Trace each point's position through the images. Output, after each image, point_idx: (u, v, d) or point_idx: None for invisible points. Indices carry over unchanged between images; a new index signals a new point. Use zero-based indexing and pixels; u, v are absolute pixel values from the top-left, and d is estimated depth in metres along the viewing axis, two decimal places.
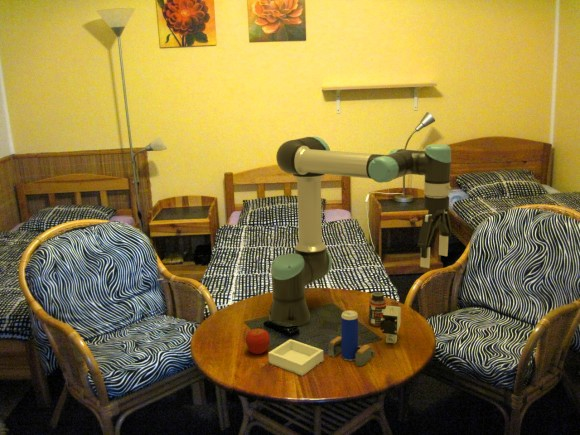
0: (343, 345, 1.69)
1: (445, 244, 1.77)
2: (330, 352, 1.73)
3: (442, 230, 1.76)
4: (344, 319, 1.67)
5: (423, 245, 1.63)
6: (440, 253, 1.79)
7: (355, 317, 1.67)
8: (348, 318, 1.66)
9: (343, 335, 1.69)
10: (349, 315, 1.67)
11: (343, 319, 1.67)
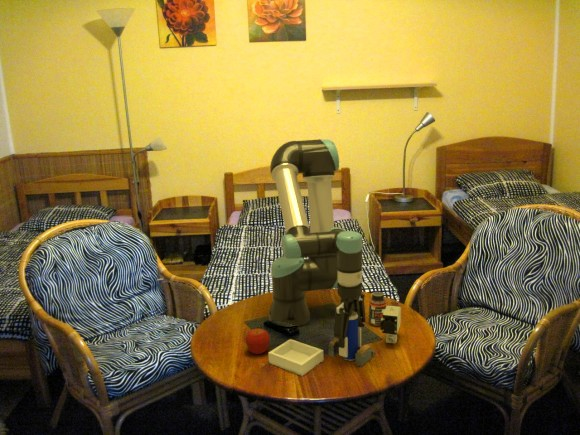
0: None
1: (358, 335, 1.73)
2: (330, 352, 1.73)
3: None
4: None
5: (339, 337, 1.64)
6: None
7: (355, 317, 1.67)
8: None
9: None
10: None
11: None
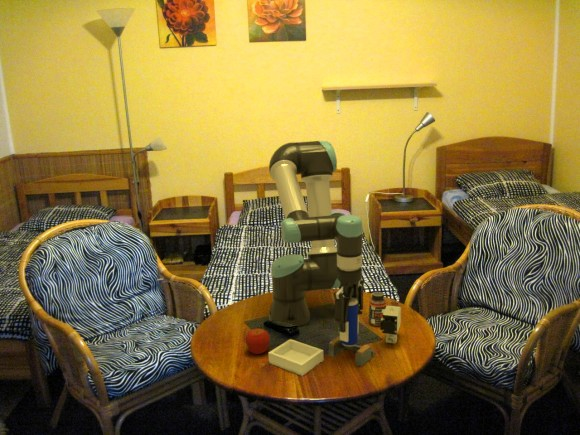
0: None
1: None
2: (330, 352, 1.73)
3: None
4: None
5: (340, 322, 1.64)
6: None
7: (355, 303, 1.66)
8: None
9: None
10: None
11: None
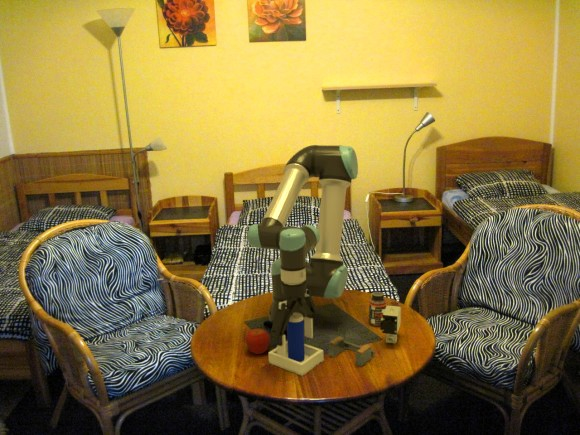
0: (289, 348, 1.68)
1: (309, 326, 1.72)
2: (330, 352, 1.73)
3: (305, 312, 1.71)
4: (289, 322, 1.65)
5: (275, 334, 1.59)
6: (306, 335, 1.74)
7: (300, 319, 1.65)
8: (293, 320, 1.64)
9: (288, 338, 1.67)
10: (294, 317, 1.65)
11: None
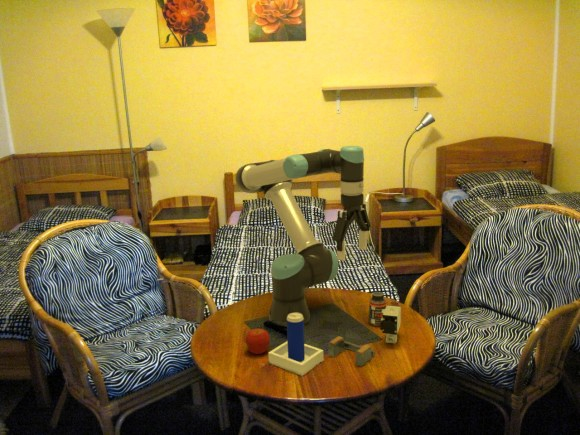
0: (289, 348, 1.68)
1: (364, 239, 1.90)
2: (330, 352, 1.73)
3: (360, 225, 1.88)
4: (289, 322, 1.65)
5: (337, 239, 1.76)
6: (360, 247, 1.91)
7: (300, 319, 1.65)
8: (293, 320, 1.64)
9: (288, 338, 1.67)
10: (294, 317, 1.65)
11: (288, 321, 1.65)
